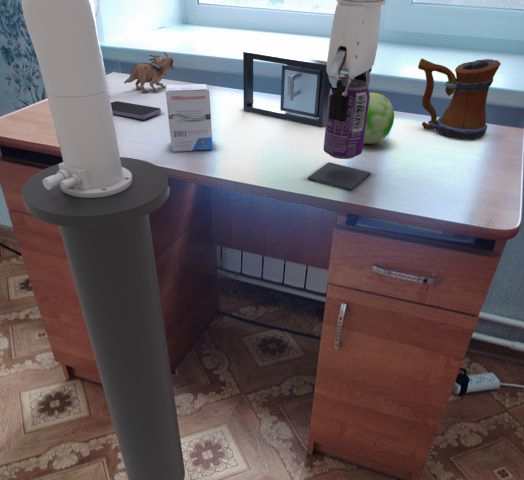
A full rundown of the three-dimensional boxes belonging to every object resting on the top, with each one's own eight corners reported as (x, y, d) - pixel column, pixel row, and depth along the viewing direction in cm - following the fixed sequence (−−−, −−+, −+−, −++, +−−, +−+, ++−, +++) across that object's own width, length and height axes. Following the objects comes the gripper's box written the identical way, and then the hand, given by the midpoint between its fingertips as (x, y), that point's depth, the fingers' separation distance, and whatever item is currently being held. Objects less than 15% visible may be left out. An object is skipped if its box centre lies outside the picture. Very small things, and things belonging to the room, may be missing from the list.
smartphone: (116, 100, 129) (162, 108, 123) (116, 105, 129) (163, 113, 124) (95, 107, 124) (143, 116, 118) (96, 112, 124) (143, 121, 119)
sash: (306, 124, 115) (309, 76, 108) (269, 116, 119) (270, 69, 112) (318, 117, 119) (322, 71, 112) (281, 109, 122) (283, 64, 116)
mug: (405, 135, 115) (420, 61, 105) (406, 119, 123) (419, 50, 114) (487, 143, 112) (510, 67, 102) (482, 126, 121) (503, 55, 111)
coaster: (351, 191, 92) (351, 188, 92) (307, 179, 95) (307, 177, 95) (370, 174, 98) (370, 172, 97) (328, 164, 101) (328, 162, 101)
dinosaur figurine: (175, 86, 142) (172, 48, 136) (176, 92, 138) (173, 53, 132) (125, 87, 140) (120, 49, 134) (125, 93, 136) (119, 54, 130)
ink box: (210, 142, 110) (207, 82, 102) (212, 150, 106) (209, 89, 98) (170, 143, 108) (164, 83, 100) (171, 152, 105) (165, 90, 97)
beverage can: (362, 149, 96) (373, 79, 88) (359, 163, 91) (370, 90, 83) (325, 145, 97) (332, 76, 89) (320, 159, 92) (327, 87, 84)
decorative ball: (340, 135, 114) (345, 87, 108) (382, 134, 115) (391, 87, 108) (350, 151, 107) (356, 100, 100) (395, 150, 108) (405, 100, 101)
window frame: (321, 127, 118) (327, 65, 110) (243, 110, 127) (243, 51, 118) (327, 123, 120) (333, 62, 112) (249, 107, 129) (250, 49, 120)
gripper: (361, -16, 84) (348, 98, 96) (313, -5, 73) (305, 123, 85) (404, -12, 81) (385, 105, 93) (361, 0, 70) (345, 131, 82)
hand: (347, 113), depth 89 cm, fingers closed on beverage can, 7 cm apart
